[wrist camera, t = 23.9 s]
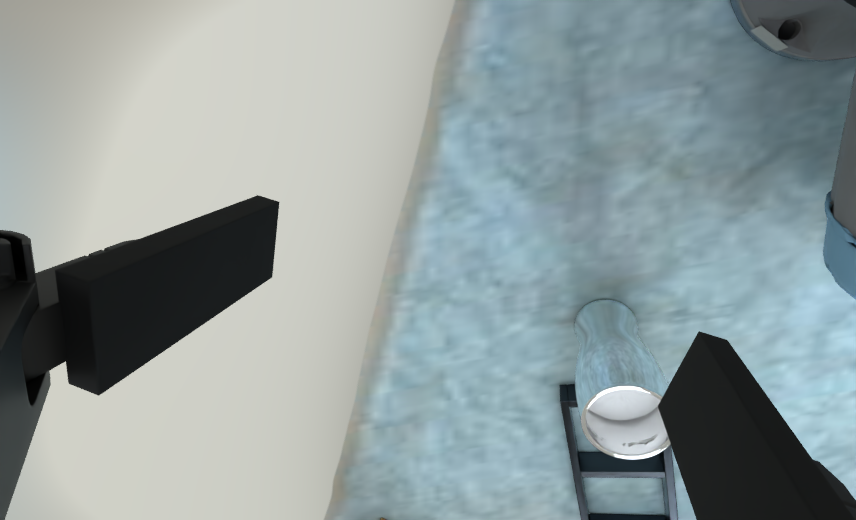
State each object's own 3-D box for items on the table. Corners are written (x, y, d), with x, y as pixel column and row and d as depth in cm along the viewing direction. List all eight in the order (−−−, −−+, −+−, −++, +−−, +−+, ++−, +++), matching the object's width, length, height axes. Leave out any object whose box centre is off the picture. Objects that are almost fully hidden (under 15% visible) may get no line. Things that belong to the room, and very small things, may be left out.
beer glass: (565, 299, 46) (571, 386, 33) (638, 290, 44) (678, 380, 31) (574, 357, 48) (584, 462, 35) (644, 352, 46) (685, 462, 33)
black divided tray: (659, 379, 47) (666, 396, 44) (673, 520, 53) (680, 544, 50) (559, 384, 50) (560, 401, 47) (583, 517, 56) (584, 540, 53)
